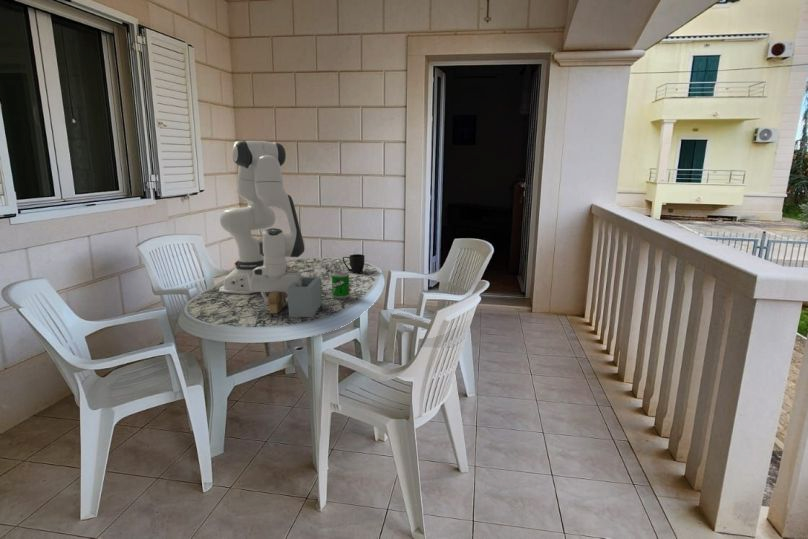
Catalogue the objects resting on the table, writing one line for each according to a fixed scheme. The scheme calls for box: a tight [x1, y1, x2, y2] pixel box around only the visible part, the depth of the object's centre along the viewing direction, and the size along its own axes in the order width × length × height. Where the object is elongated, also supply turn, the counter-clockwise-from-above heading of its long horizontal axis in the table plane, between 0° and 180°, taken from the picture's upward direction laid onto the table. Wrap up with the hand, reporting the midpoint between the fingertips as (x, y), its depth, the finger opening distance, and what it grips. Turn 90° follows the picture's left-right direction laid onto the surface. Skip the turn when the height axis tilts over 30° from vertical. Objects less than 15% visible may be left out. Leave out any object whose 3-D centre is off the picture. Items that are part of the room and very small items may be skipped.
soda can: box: [331, 269, 350, 300], centre depth 201 cm, size 8×8×12 cm
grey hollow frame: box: [287, 276, 323, 318], centre depth 183 cm, size 9×18×12 cm, turn 178°
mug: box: [342, 253, 366, 274], centre depth 248 cm, size 8×12×10 cm
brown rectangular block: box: [267, 292, 287, 314], centre depth 184 cm, size 12×3×8 cm, turn 178°
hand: (277, 302), depth 185 cm, fingers open, 7 cm apart
